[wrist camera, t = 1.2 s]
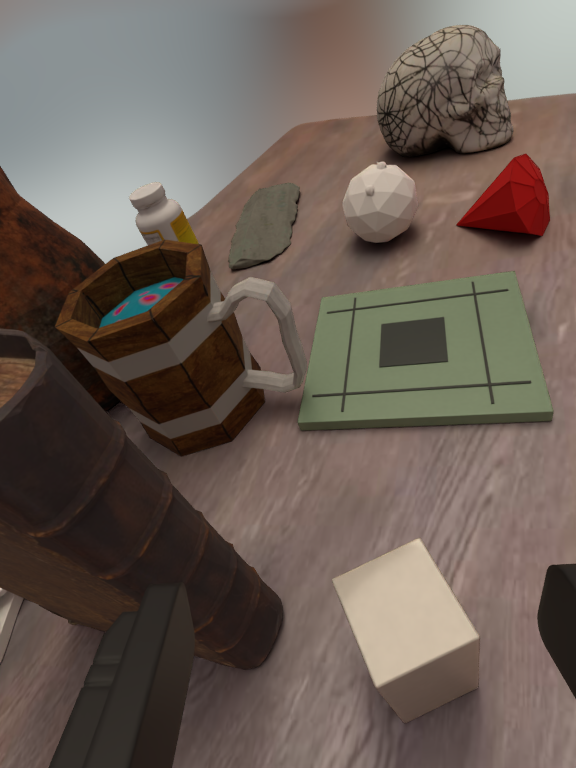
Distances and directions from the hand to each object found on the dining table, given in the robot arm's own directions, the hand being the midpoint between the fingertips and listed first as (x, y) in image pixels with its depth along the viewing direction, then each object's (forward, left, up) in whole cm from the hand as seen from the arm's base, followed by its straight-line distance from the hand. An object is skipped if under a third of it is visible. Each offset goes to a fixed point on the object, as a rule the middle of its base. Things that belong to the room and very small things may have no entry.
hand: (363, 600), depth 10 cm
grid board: (0, -29, -20) cm, 35 cm away
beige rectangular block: (0, -3, -20) cm, 21 cm away
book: (+17, -4, -20) cm, 27 cm away
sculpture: (-5, -76, -20) cm, 79 cm away
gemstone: (-10, -48, -20) cm, 53 cm away
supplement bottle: (+33, -51, -20) cm, 64 cm away
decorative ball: (+2, -51, -20) cm, 55 cm away
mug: (+18, -24, -20) cm, 36 cm away
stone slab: (+22, -60, -20) cm, 67 cm away
